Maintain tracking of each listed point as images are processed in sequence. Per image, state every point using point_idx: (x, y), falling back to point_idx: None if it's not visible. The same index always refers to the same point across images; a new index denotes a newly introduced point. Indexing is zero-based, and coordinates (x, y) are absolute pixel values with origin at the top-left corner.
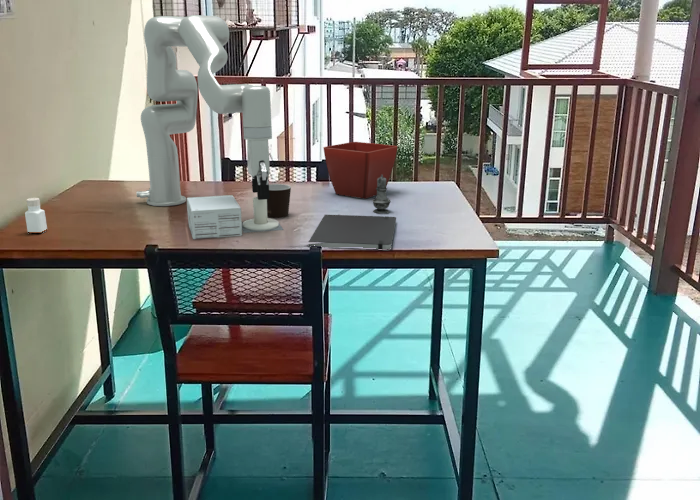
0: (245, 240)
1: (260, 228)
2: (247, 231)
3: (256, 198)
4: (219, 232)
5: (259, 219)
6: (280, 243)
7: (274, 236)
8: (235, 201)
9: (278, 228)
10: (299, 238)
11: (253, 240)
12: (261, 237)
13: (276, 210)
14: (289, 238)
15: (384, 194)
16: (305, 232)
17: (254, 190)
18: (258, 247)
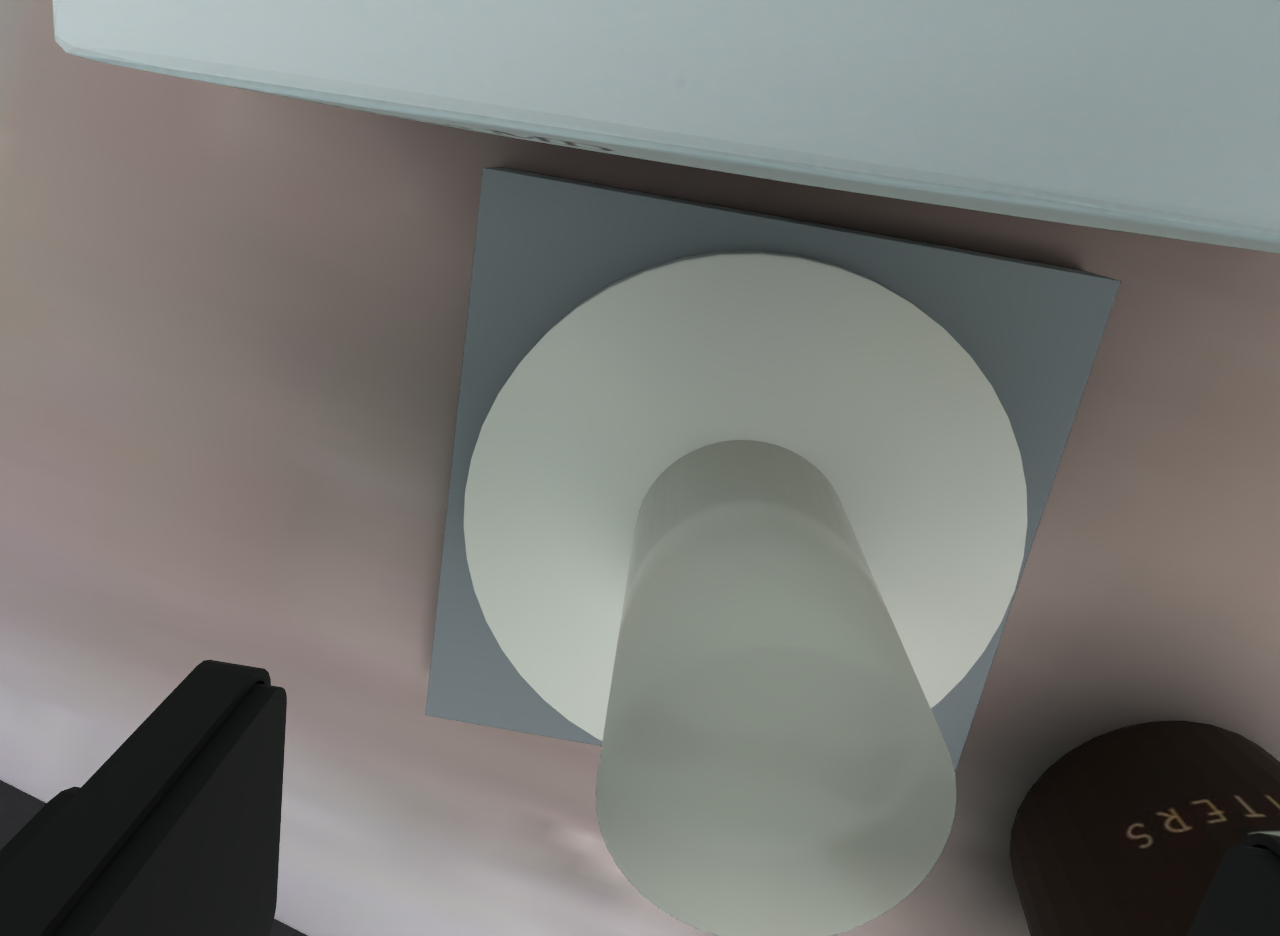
0: (376, 151)
1: (477, 444)
2: (522, 243)
3: (787, 727)
4: None
5: (641, 524)
6: (115, 524)
7: (429, 561)
8: (956, 145)
9: (511, 680)
10: None
11: (340, 258)
12: (443, 402)
13: (1078, 920)
14: (288, 681)
15: None
16: (463, 902)
17: (1259, 906)
18: (5, 218)
